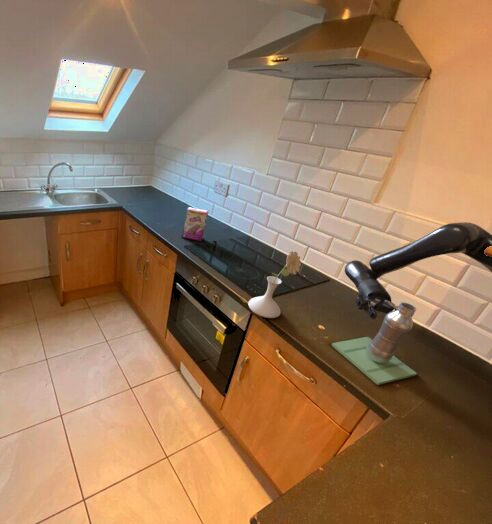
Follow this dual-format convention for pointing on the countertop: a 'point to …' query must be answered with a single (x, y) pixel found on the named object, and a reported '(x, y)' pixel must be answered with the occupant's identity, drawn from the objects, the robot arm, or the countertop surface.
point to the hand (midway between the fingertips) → (390, 320)
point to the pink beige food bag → (195, 223)
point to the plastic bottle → (391, 333)
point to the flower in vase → (265, 303)
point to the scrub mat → (372, 362)
